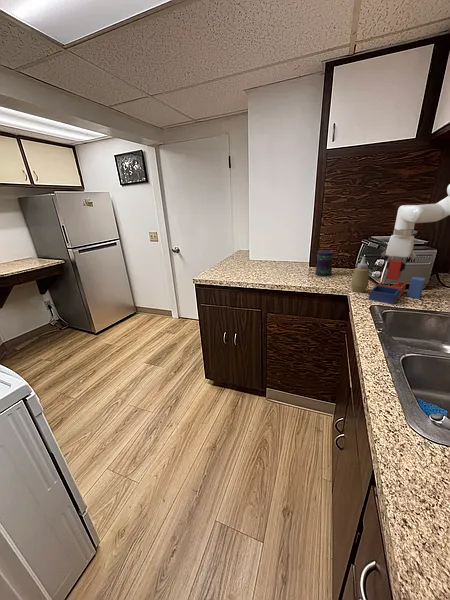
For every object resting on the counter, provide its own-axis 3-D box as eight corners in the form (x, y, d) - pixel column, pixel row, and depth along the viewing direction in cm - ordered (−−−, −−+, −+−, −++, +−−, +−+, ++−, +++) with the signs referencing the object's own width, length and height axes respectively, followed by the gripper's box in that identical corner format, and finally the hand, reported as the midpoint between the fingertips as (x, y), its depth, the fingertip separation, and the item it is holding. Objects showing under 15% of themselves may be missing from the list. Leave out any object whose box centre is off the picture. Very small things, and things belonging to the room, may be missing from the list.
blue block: (420, 295, 121) (425, 278, 118) (419, 298, 118) (423, 280, 115) (409, 293, 124) (413, 276, 121) (407, 296, 121) (411, 278, 118)
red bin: (404, 291, 128) (406, 282, 126) (399, 296, 121) (401, 288, 119) (382, 287, 134) (383, 279, 133) (376, 292, 128) (378, 284, 126)
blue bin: (398, 298, 120) (400, 289, 118) (393, 304, 113) (395, 295, 111) (375, 293, 126) (376, 285, 125) (368, 299, 120) (370, 290, 118)
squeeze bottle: (349, 287, 136) (353, 255, 130) (365, 288, 134) (371, 255, 127) (351, 292, 129) (356, 258, 123) (368, 293, 127) (374, 258, 120)
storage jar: (319, 271, 169) (321, 249, 164) (333, 273, 163) (336, 251, 157) (312, 274, 163) (314, 252, 157) (327, 277, 156) (329, 253, 151)
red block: (399, 277, 125) (403, 260, 122) (397, 280, 122) (401, 262, 119) (388, 276, 128) (392, 259, 125) (386, 278, 125) (390, 260, 122)
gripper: (426, 232, 114) (417, 271, 120) (384, 231, 125) (378, 266, 132) (423, 234, 109) (413, 274, 116) (380, 232, 120) (373, 269, 127)
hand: (394, 269), depth 124 cm, fingers closed on red block, 4 cm apart
